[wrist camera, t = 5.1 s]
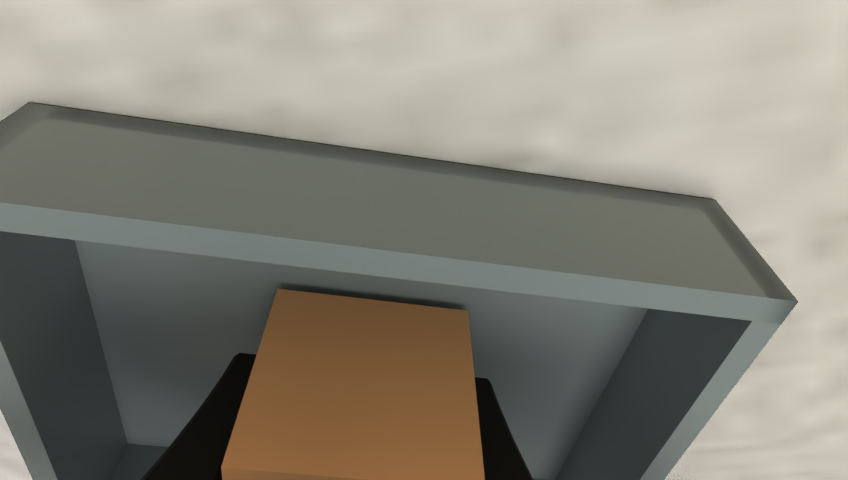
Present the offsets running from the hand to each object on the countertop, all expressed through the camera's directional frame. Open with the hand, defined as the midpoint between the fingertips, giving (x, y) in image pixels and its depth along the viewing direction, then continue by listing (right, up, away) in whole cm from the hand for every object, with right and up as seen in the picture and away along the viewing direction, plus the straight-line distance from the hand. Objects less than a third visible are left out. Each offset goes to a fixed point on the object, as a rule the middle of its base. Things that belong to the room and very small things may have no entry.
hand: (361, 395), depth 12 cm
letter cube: (0, +1, +1) cm, 1 cm away
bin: (0, +1, +1) cm, 2 cm away
